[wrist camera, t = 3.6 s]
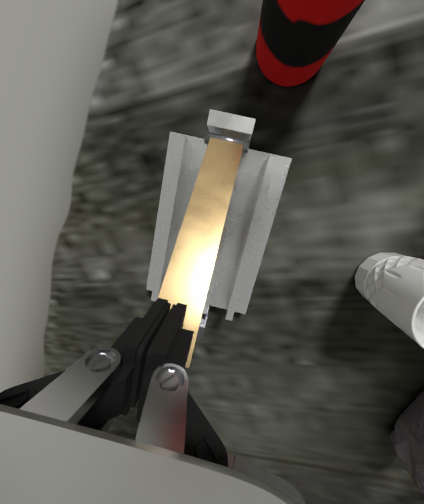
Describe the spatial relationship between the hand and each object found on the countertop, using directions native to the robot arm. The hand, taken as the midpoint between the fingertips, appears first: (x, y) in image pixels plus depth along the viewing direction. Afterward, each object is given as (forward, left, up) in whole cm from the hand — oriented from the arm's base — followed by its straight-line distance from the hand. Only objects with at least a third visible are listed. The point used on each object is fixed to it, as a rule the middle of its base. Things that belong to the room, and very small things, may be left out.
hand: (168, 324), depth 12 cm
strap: (0, -5, -6) cm, 8 cm away
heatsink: (0, -3, -18) cm, 18 cm away
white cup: (-23, -2, -18) cm, 29 cm away
